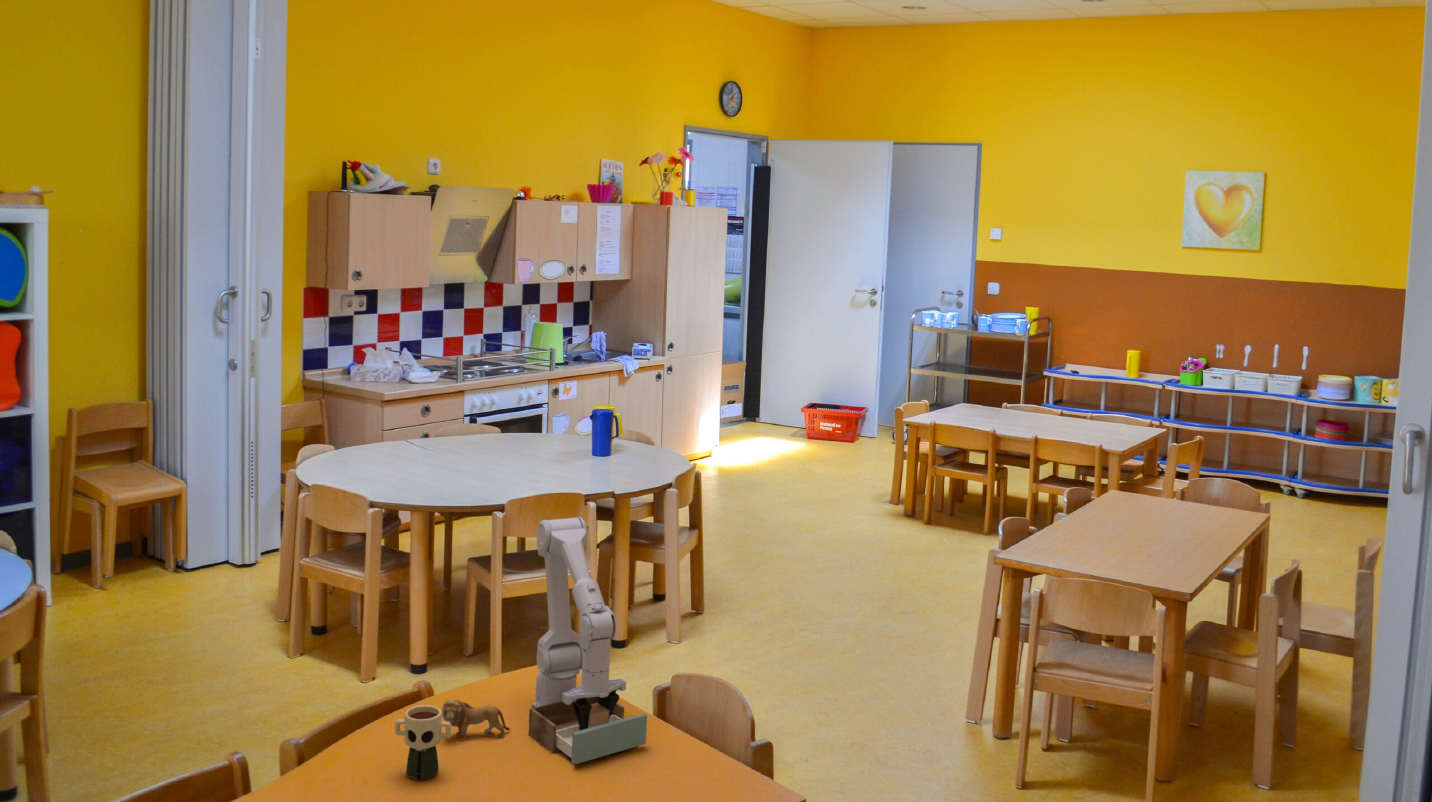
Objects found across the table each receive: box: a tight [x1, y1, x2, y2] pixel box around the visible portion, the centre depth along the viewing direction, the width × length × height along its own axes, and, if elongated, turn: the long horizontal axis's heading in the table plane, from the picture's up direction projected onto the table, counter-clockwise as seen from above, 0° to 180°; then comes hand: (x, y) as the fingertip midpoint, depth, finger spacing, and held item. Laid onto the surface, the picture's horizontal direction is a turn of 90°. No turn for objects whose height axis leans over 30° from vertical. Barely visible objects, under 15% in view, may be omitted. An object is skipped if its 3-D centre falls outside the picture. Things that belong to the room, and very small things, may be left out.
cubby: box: [528, 697, 625, 754], centre depth 254 cm, size 10×18×6 cm, turn 129°
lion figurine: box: [441, 698, 511, 742], centre depth 250 cm, size 15×5×9 cm, turn 116°
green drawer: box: [556, 712, 648, 765], centre depth 247 cm, size 11×18×6 cm, turn 129°
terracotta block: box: [579, 703, 609, 731], centre depth 249 cm, size 4×4×6 cm
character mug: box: [394, 704, 452, 780], centre depth 232 cm, size 11×7×13 cm, turn 90°
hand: (593, 728), depth 249 cm, fingers closed on terracotta block, 4 cm apart
